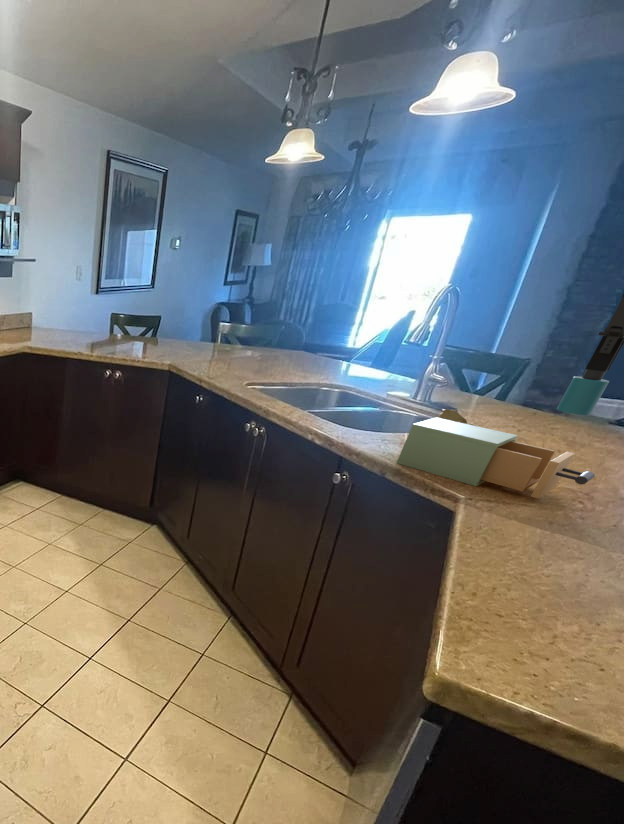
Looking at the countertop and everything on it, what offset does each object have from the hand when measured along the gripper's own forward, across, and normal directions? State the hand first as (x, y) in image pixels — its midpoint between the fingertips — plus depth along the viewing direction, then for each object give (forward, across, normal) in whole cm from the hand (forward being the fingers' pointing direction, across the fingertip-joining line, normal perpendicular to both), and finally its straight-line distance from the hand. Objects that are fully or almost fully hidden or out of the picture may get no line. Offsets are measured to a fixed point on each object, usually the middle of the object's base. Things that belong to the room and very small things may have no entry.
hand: (597, 369), depth 99 cm
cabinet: (+25, +8, -13) cm, 30 cm away
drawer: (+24, +9, -1) cm, 26 cm away
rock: (+26, -12, -19) cm, 34 cm away
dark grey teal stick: (+9, 0, 0) cm, 9 cm away
